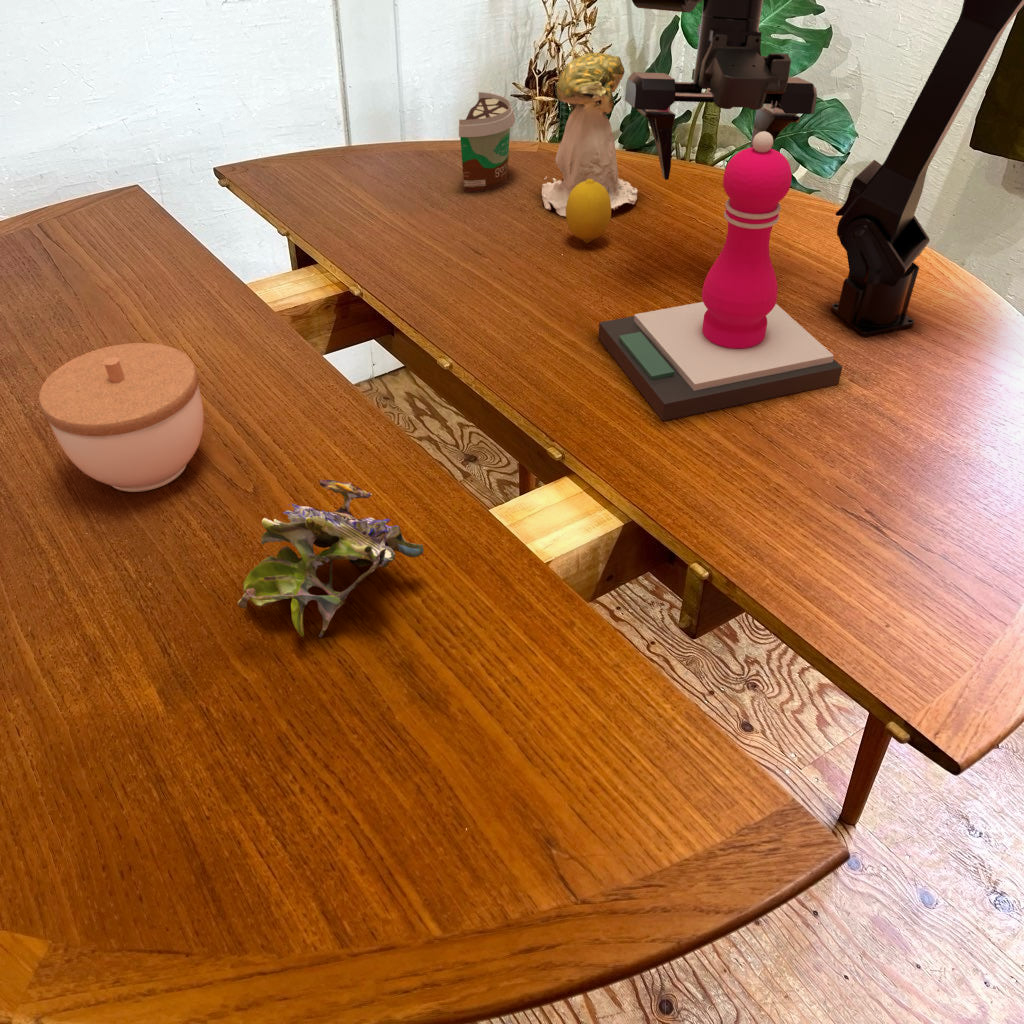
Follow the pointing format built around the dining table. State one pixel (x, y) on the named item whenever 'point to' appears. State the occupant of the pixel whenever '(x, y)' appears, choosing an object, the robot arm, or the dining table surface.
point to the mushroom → (588, 132)
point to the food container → (486, 143)
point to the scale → (713, 361)
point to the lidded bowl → (126, 414)
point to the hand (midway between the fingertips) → (707, 179)
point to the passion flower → (321, 554)
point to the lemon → (588, 210)
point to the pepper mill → (746, 247)
